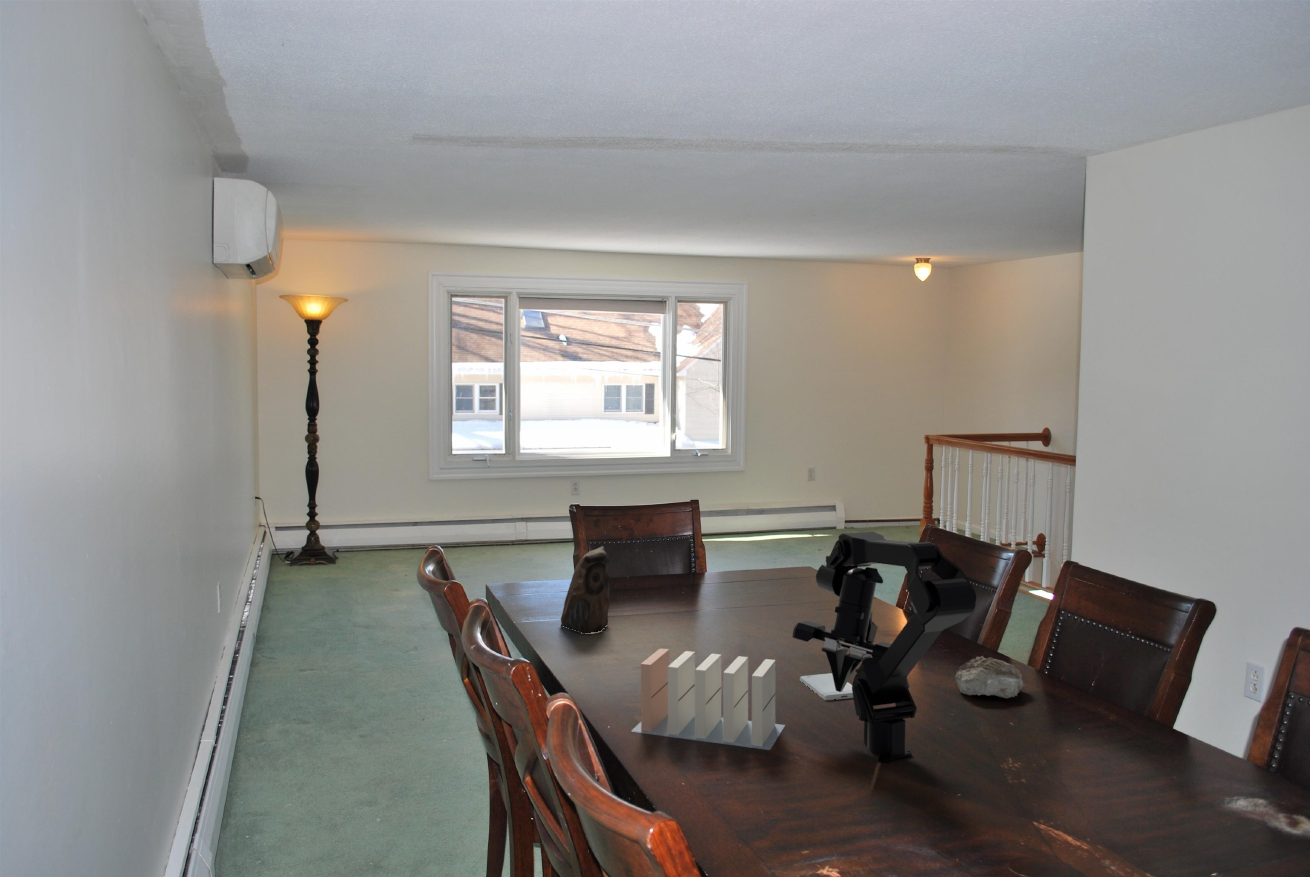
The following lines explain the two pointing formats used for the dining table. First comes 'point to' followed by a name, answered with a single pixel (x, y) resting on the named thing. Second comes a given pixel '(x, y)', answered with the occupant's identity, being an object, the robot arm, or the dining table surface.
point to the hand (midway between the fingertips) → (838, 691)
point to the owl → (588, 594)
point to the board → (715, 734)
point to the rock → (989, 678)
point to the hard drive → (826, 686)
